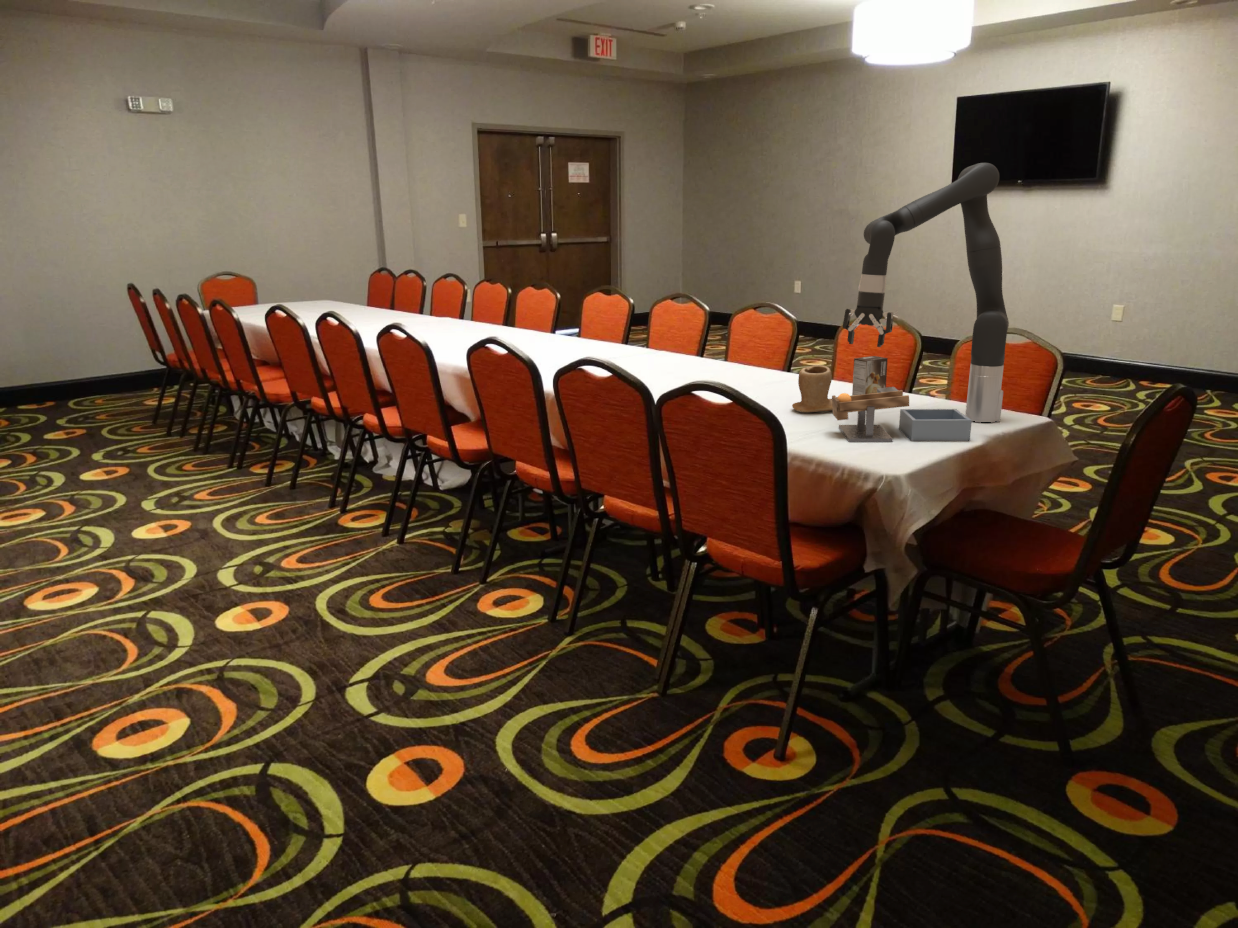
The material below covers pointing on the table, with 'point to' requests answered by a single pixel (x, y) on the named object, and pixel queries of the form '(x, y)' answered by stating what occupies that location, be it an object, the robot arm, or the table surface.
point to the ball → (844, 397)
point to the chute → (870, 402)
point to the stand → (865, 429)
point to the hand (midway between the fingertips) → (864, 345)
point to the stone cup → (814, 389)
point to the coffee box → (869, 374)
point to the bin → (935, 425)
